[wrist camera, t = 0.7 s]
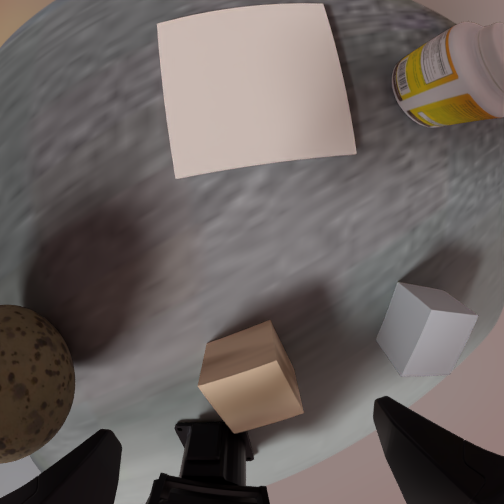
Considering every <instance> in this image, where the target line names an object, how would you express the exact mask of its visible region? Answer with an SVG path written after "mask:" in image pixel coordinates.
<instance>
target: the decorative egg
mask: <svg viewBox="0 0 504 504" xmlns="http://www.w3.org/2000/svg"><path fill="white" fill-rule="evenodd" d="M74 393H75V372H74V366H73V361H72V358H71V354H70V352H69V349H68V347H67V345H66V343H65V341H64V339H63V338H62V336H61V335H60V333H59V332H58V331H57V329H56V328H55V327H54V326H53V325H52V324H51V323H50V322H49V321H48V320H47V319H46V318H44V317H43V316H41V315H40V314H38V313H36V312H35V311H32V310H30V309H28V308H25V307H21V306H16V305H0V463H8V462H12V461H16V460H19V459H21V458H24V457H26V456H28V455H30V454H32V453H34V452H35V451H37V450H38V449H40V448H41V447H43V446H44V445H45V444H46V443H48V442H49V441H50V440H51V439H52V438H53V437H54V436H55V435H56V433H57V432H58V431H59V430H60V428H61V427H62V425H63V424H64V422H65V420H66V418H67V416H68V414H69V412H70V409H71V406H72V403H73V399H74Z"/></svg>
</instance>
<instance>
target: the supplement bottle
mask: <svg viewBox="0 0 504 504" xmlns="http://www.w3.org/2000/svg"><path fill="white" fill-rule="evenodd" d="M392 89H393V93H394V96H395V98H396V100H397V102H398V104H399V106H400V107H401V109H402V110H403V111H404V112H405V114H406V115H407V116H408V117H410V118H411V119H412V120H413V121H415V122H416V123H418V124H420V125H422V126H425V127H432V128H434V127H442V126H447V125H453V124H459V123H465V122H472V121H478V120H485V119H493V118H502V117H504V23H502V22H497V23H494V24H491V25H489V26H485V27H483V26H481V25H479V24H477V23H473V22H461V23H459V24H456V25H455V26H453V27H451V28H450V29H448V30H446V31H445V32H443V33H441V34H440V35H438V36H437V37H435V38H433V39H432V40H430V41H429V42H427V43H425V44H424V45H422V46H421V47H419V48H418V49H416V50H415V51H413V52H412V53H410V54H409V55H407V56H406V57H404V58H403V59H401V60H400V61H399V62H398V63H397V64H396V66H395V68H394V70H393V73H392Z"/></svg>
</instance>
